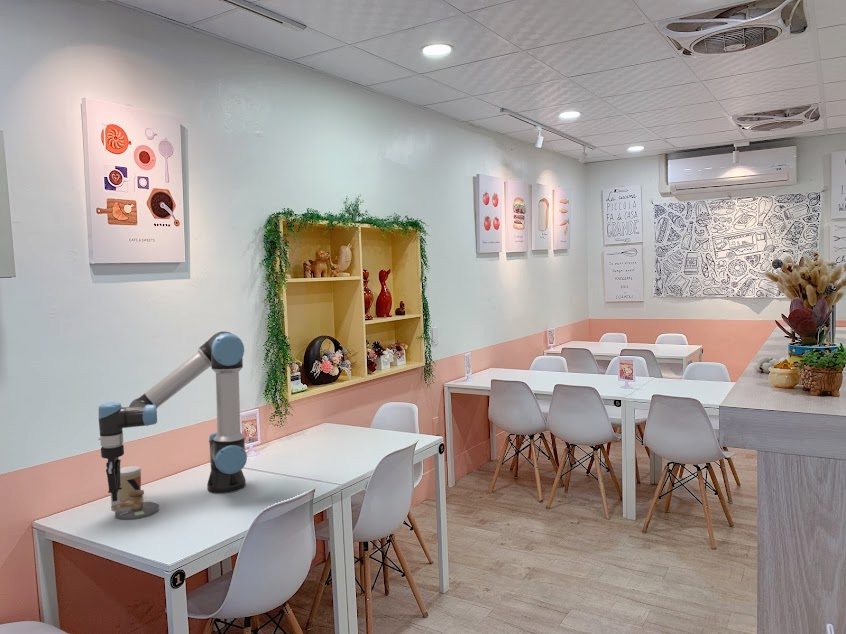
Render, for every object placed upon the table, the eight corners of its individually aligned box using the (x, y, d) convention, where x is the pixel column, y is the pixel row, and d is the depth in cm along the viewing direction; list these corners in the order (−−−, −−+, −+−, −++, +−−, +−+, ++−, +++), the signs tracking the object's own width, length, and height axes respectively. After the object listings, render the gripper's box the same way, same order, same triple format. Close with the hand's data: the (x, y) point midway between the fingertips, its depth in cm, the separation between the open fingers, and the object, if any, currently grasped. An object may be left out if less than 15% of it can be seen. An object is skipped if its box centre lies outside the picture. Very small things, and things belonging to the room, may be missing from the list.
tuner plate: (166, 504, 249) (165, 501, 249) (147, 519, 234) (146, 516, 234) (128, 504, 250) (128, 501, 250) (106, 520, 235) (106, 516, 235)
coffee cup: (132, 503, 251) (131, 473, 250) (111, 502, 253) (109, 472, 252) (147, 495, 260) (145, 466, 259) (127, 494, 262) (125, 465, 261)
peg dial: (139, 504, 245) (138, 488, 245) (147, 507, 242) (146, 491, 242) (109, 515, 236) (108, 498, 235) (117, 517, 233) (116, 501, 232)
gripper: (104, 441, 242) (109, 503, 243) (96, 451, 229) (101, 516, 231) (126, 440, 243) (130, 501, 245) (119, 449, 231) (123, 513, 233)
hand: (116, 508), depth 238 cm, fingers closed
